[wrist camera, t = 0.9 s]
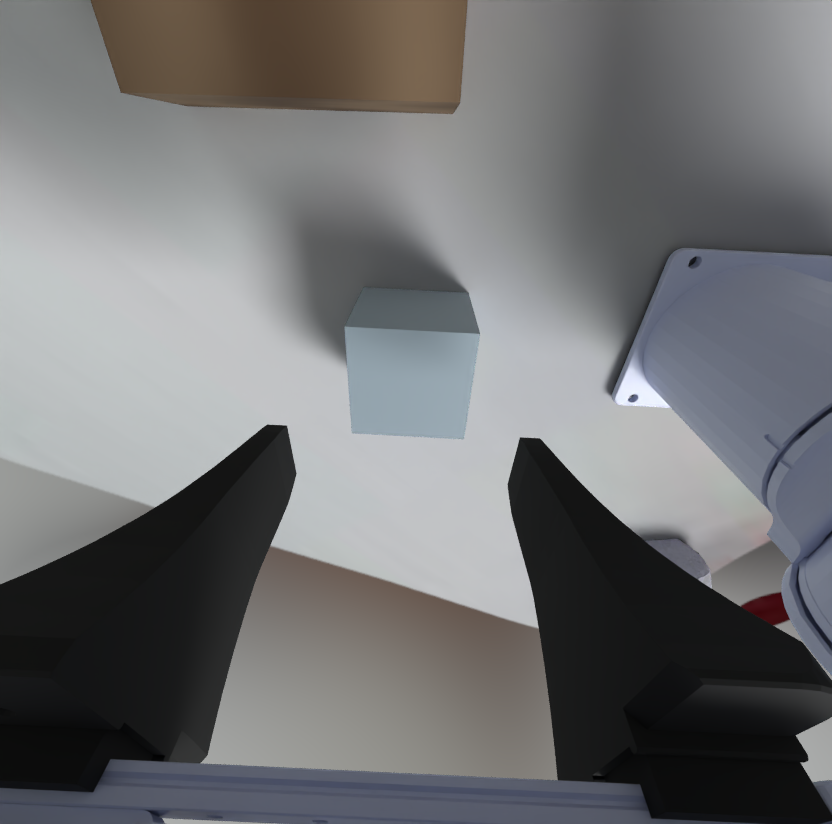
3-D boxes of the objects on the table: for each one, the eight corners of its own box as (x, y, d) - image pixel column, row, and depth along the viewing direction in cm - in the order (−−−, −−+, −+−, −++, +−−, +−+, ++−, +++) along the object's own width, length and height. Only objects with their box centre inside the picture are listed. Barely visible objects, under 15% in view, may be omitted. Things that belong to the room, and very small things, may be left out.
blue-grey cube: (468, 292, 18) (479, 333, 14) (457, 382, 21) (464, 439, 16) (364, 286, 18) (344, 326, 14) (367, 377, 21) (352, 433, 16)
